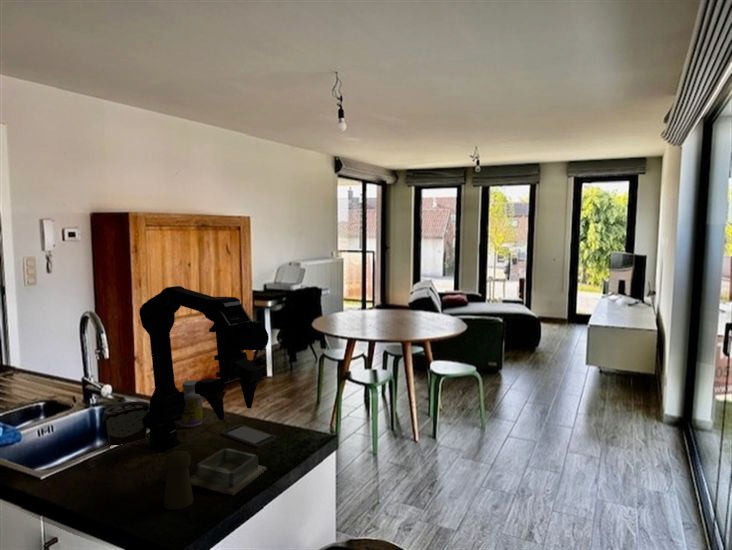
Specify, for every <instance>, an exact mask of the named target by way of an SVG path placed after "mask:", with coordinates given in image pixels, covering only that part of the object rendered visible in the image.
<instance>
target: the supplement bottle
mask: <svg viewBox="0 0 732 550" xmlns="http://www.w3.org/2000/svg"><path fill="white" fill-rule="evenodd" d="M197 381H198V380H194V379H193V380H185V381H183V382H182V386H181V387H182V390H181V391H180V392H182V391H183V392H184V400H185V404H186V406H185V409H184V412H183V415H182V418H181V420H180V421H178V422H179V426H180V427H182V428H195V427H198V426H199V425H201V424H202V423H203V396H200V394H195V388H194V385H195V384H196V382H197Z"/></svg>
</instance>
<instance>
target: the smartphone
mask: <svg viewBox="0 0 732 550" xmlns="http://www.w3.org/2000/svg"><path fill="white" fill-rule="evenodd" d="M221 435H222V436H223V437H226V436H227V438H229V439H233V440H235V441H237V440H238V442H240V441H241V443H243V444H245V443H246V444H245V445H248V444H249V445H248V446H251V445H252V446H251V447H254V448H260V446H261V447H262V445H263V446H265V445H267V444H268V443H271V442H273V441H275V440H276V435H273V434H271V433H267V432H265V431H261V430H259V429H255V428H253V427H250V426H248V425H244V424H237V425H234V426H232V427H229V428H227V429H224V430H222V431H221ZM266 443H267V444H266ZM264 444H265V445H264Z"/></svg>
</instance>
